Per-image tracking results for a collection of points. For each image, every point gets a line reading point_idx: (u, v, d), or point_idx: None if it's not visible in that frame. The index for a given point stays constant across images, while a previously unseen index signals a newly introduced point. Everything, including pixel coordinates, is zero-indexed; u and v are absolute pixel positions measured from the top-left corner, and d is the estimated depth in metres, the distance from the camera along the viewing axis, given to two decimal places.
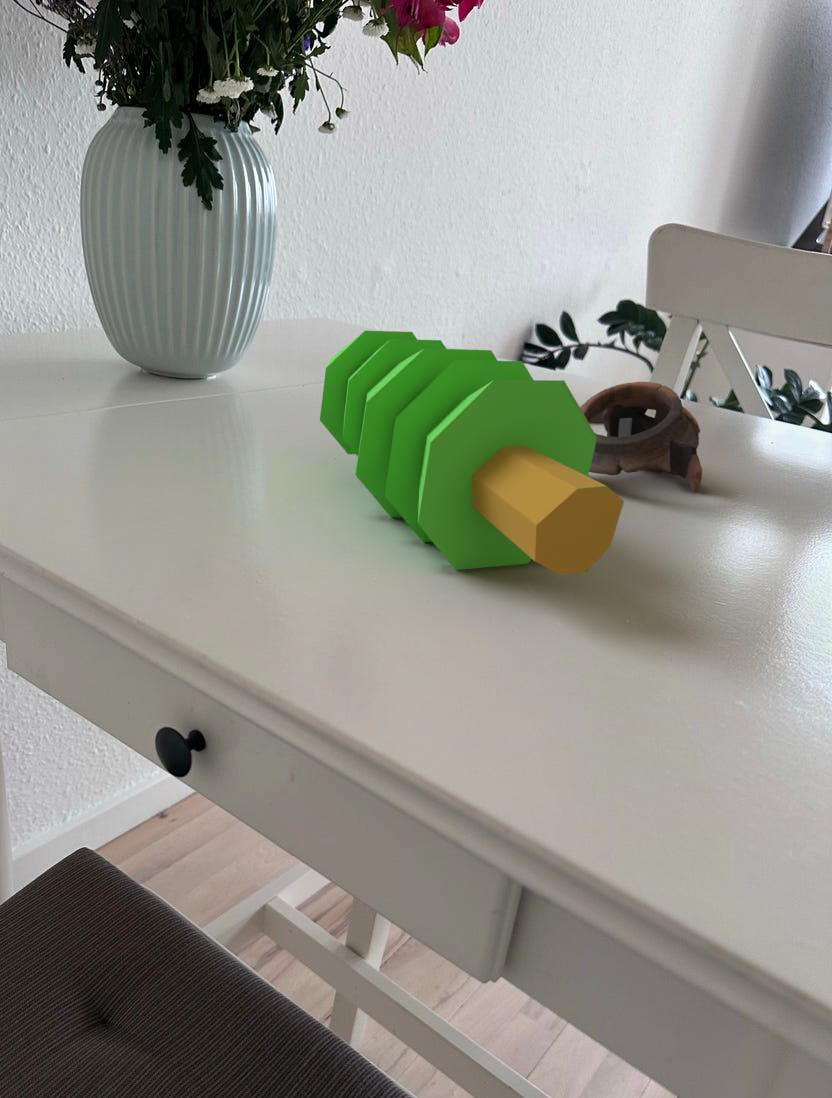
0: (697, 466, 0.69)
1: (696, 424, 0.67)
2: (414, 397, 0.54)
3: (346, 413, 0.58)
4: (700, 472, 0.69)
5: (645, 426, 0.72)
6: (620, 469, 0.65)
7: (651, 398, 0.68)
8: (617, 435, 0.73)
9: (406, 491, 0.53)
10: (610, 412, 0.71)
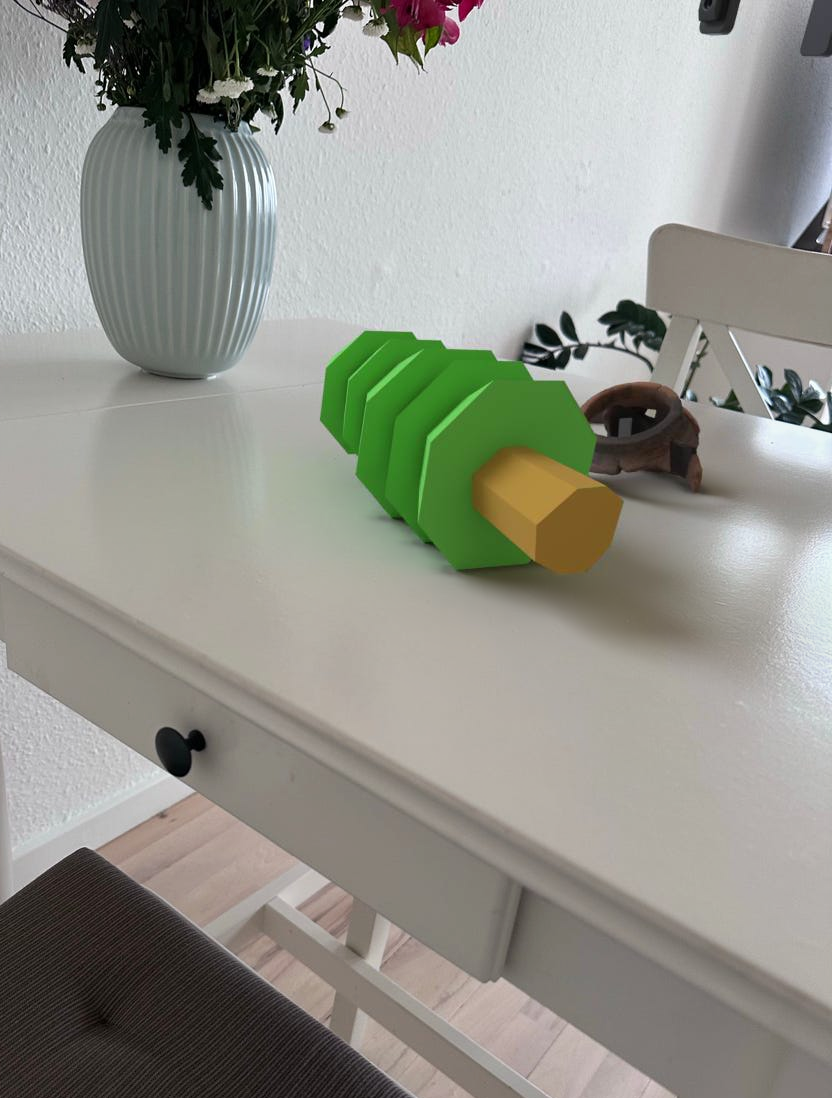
0: (697, 466, 0.69)
1: (696, 424, 0.67)
2: (414, 397, 0.54)
3: (346, 413, 0.58)
4: (700, 472, 0.69)
5: (645, 426, 0.72)
6: (620, 469, 0.65)
7: (651, 398, 0.68)
8: (617, 435, 0.73)
9: (406, 491, 0.53)
10: (610, 412, 0.71)
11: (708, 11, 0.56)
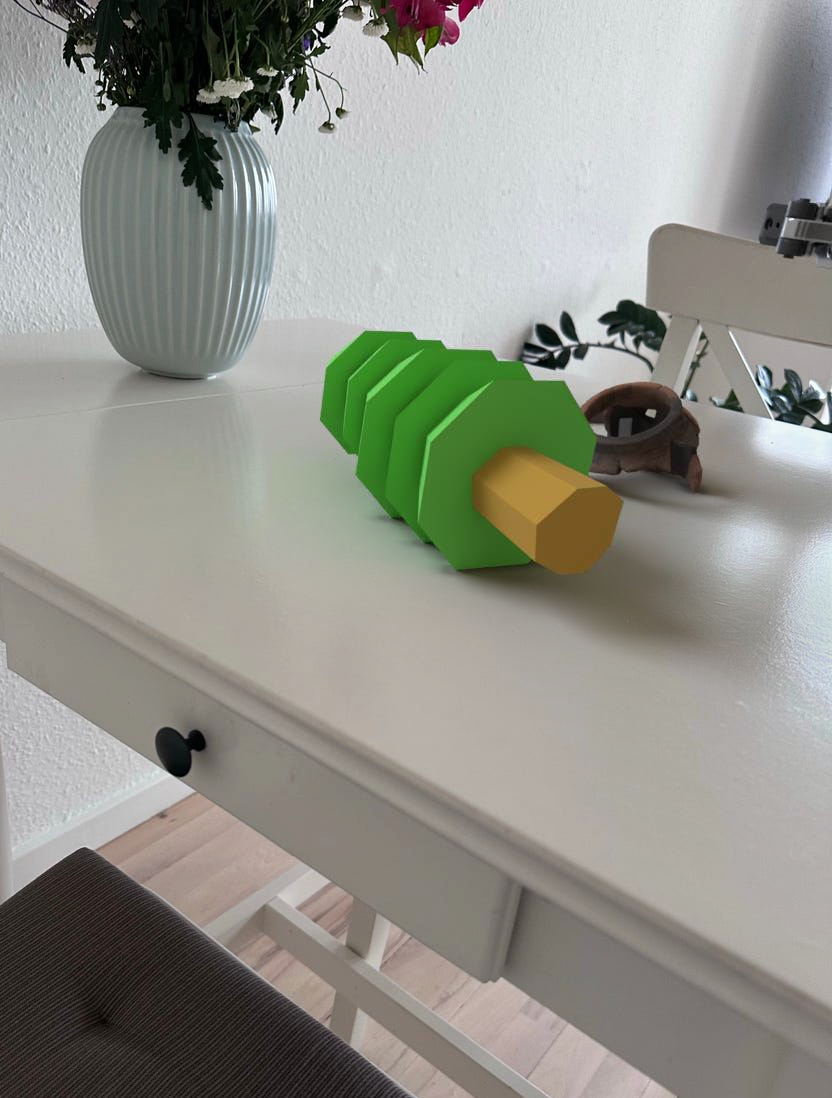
0: (697, 466, 0.69)
1: (696, 424, 0.67)
2: (414, 397, 0.54)
3: (346, 413, 0.58)
4: (700, 472, 0.69)
5: (645, 426, 0.72)
6: (620, 469, 0.65)
7: (651, 398, 0.68)
8: (617, 435, 0.73)
9: (406, 491, 0.53)
10: (610, 412, 0.71)
11: (764, 226, 0.55)
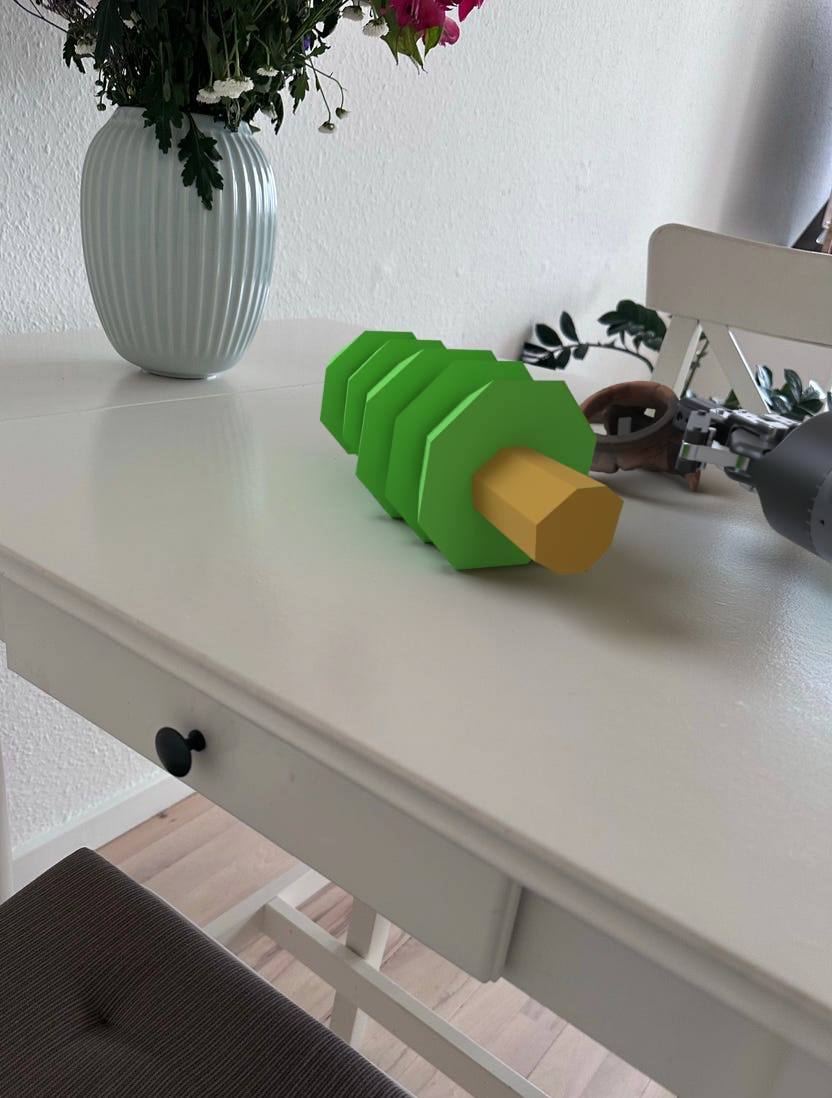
0: None
1: None
2: (414, 397, 0.54)
3: (346, 413, 0.58)
4: (698, 471, 0.69)
5: (644, 425, 0.72)
6: (617, 467, 0.66)
7: (650, 397, 0.68)
8: (616, 434, 0.73)
9: (406, 491, 0.53)
10: (609, 411, 0.71)
11: (676, 417, 0.63)
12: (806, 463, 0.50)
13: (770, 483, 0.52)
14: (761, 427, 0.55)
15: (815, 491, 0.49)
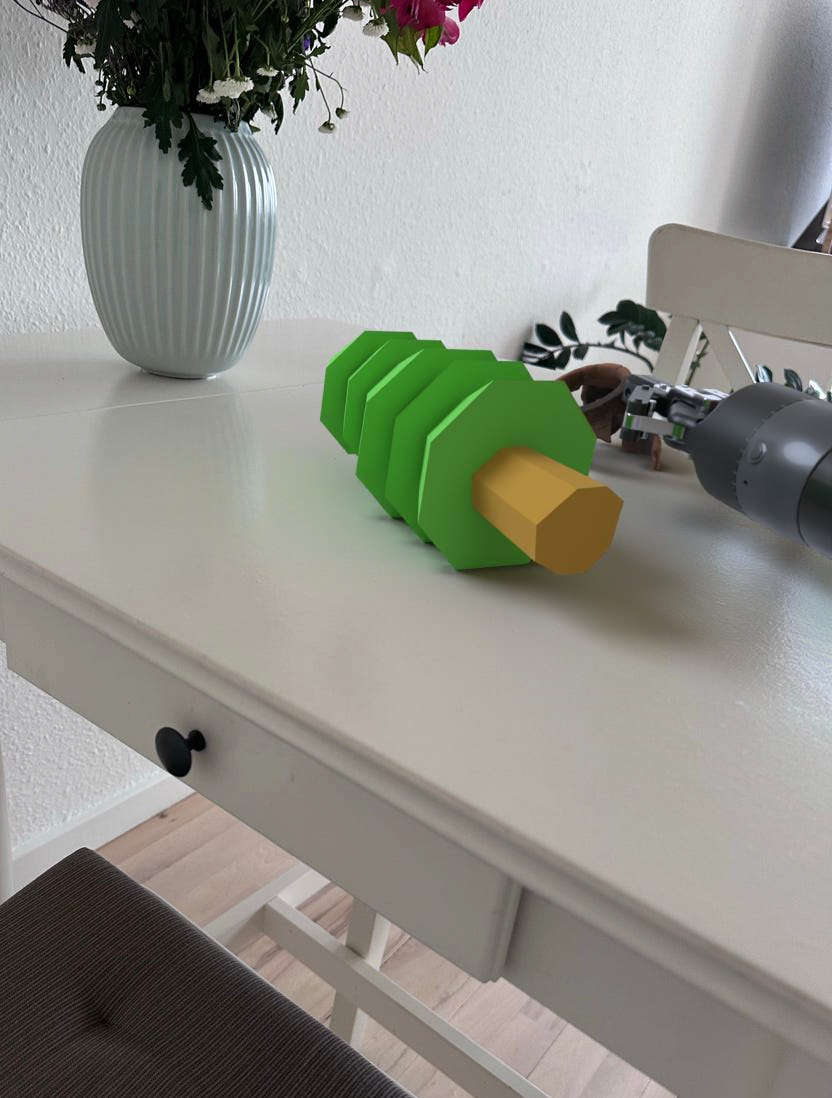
0: (655, 444, 0.73)
1: None
2: (414, 397, 0.54)
3: (346, 413, 0.58)
4: (656, 450, 0.73)
5: None
6: None
7: (615, 378, 0.73)
8: None
9: (405, 491, 0.53)
10: (585, 392, 0.77)
11: (624, 392, 0.68)
12: (732, 430, 0.55)
13: (702, 449, 0.57)
14: (697, 399, 0.60)
15: (739, 455, 0.54)
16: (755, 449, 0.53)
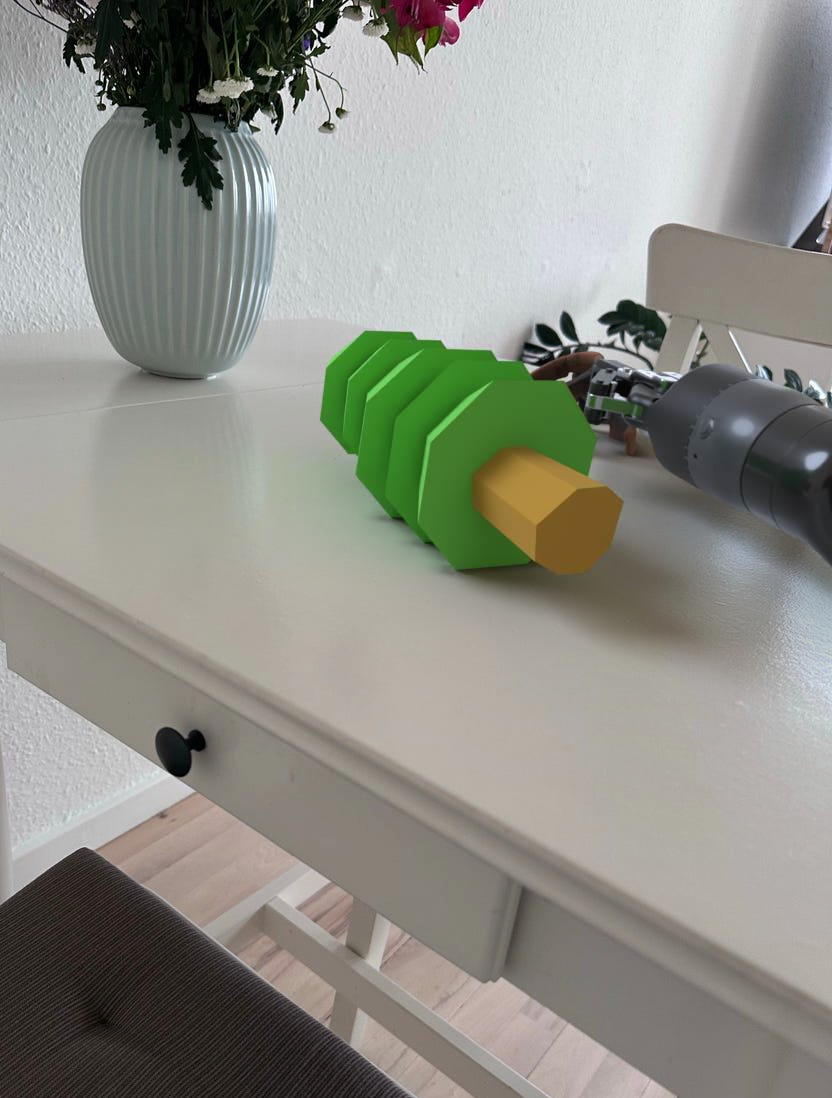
0: (627, 430, 0.76)
1: None
2: (414, 397, 0.54)
3: (346, 413, 0.58)
4: (627, 435, 0.76)
5: None
6: None
7: None
8: (585, 402, 0.82)
9: (405, 491, 0.53)
10: None
11: (592, 376, 0.72)
12: (684, 407, 0.59)
13: (658, 426, 0.61)
14: (655, 381, 0.64)
15: (690, 430, 0.58)
16: (703, 425, 0.57)
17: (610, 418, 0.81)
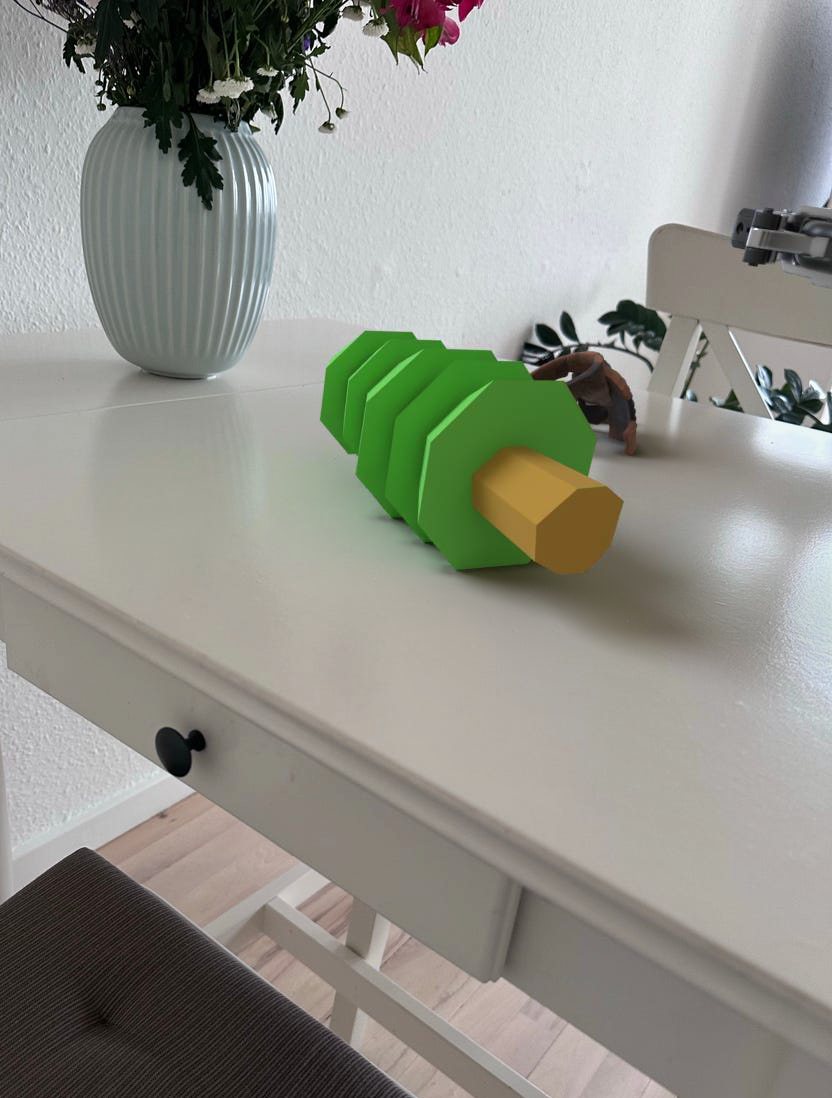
0: (627, 430, 0.76)
1: (620, 389, 0.75)
2: (414, 397, 0.54)
3: (346, 413, 0.58)
4: (626, 435, 0.76)
5: None
6: None
7: None
8: (585, 402, 0.82)
9: (405, 491, 0.53)
10: None
11: (735, 230, 0.57)
12: None
13: None
14: None
15: None
16: None
17: (610, 418, 0.81)
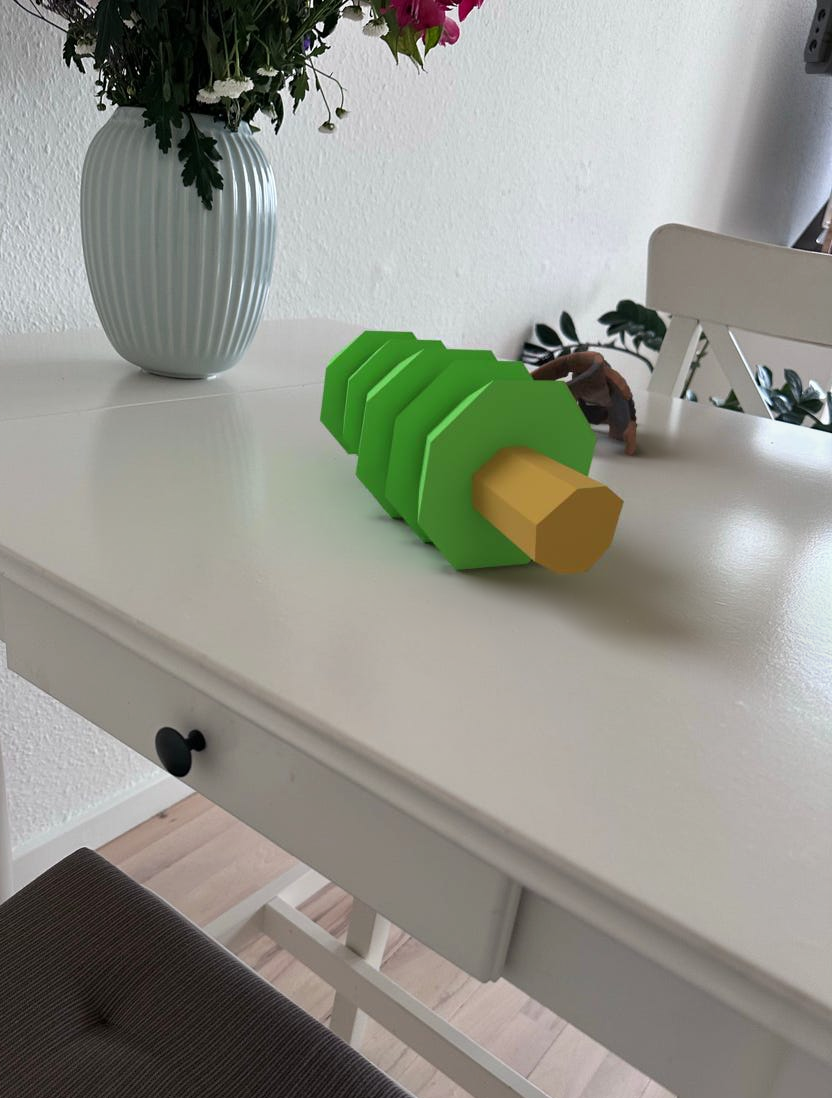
0: (627, 430, 0.76)
1: (620, 389, 0.75)
2: (414, 397, 0.54)
3: (346, 413, 0.58)
4: (626, 435, 0.76)
5: None
6: None
7: None
8: (585, 402, 0.82)
9: (405, 491, 0.53)
10: None
11: (813, 53, 0.60)
12: None
13: None
14: None
15: None
16: None
17: (610, 418, 0.81)
